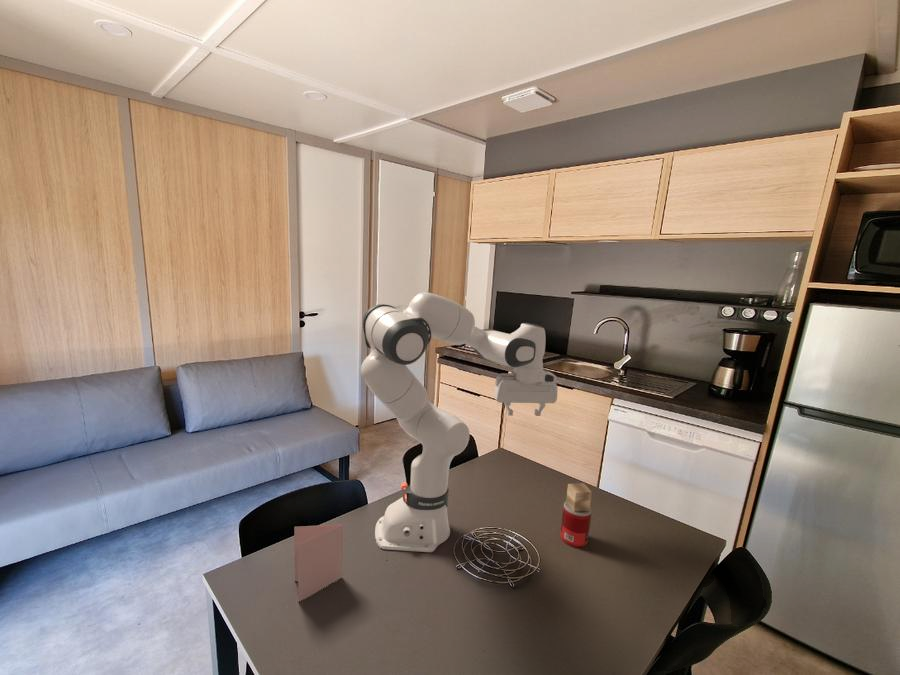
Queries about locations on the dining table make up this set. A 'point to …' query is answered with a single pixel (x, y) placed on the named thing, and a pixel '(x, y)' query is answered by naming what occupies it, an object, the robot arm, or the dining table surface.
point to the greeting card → (317, 557)
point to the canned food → (575, 526)
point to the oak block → (578, 497)
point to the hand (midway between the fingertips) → (523, 415)
